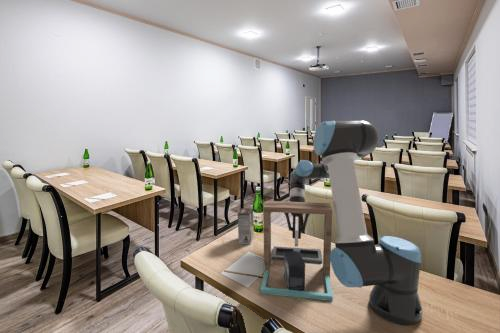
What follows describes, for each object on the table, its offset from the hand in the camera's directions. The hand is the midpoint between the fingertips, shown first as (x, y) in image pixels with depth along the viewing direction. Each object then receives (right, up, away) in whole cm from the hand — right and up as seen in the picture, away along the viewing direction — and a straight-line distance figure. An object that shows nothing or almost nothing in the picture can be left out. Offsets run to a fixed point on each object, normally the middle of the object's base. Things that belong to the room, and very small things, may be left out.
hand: (296, 245), depth 119 cm
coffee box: (-23, -3, +19) cm, 30 cm away
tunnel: (-2, -8, -9) cm, 12 cm away
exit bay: (-3, -9, -18) cm, 21 cm away
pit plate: (+1, -6, +3) cm, 6 cm away
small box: (-4, -9, -17) cm, 20 cm away
